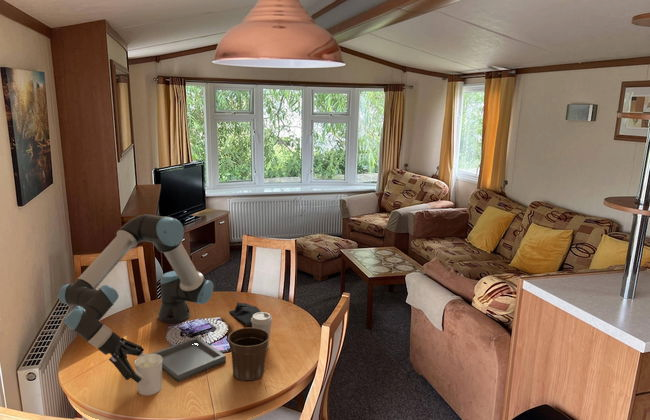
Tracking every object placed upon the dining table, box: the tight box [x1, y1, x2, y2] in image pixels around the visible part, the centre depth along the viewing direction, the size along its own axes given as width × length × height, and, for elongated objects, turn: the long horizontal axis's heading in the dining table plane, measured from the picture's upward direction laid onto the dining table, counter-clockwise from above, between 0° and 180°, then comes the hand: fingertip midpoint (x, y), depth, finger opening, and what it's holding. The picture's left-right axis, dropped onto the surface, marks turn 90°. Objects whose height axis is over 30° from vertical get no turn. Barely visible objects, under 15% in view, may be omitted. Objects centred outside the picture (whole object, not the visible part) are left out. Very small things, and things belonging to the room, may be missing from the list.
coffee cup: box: [251, 311, 274, 350], centre depth 213 cm, size 10×10×15 cm
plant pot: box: [227, 327, 270, 381], centre depth 192 cm, size 16×16×16 cm
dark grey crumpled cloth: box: [229, 302, 262, 326], centre depth 243 cm, size 15×22×5 cm
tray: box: [150, 336, 227, 383], centre depth 200 cm, size 22×22×3 cm
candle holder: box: [133, 353, 163, 396], centre depth 179 cm, size 10×10×12 cm
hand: (150, 374), depth 179 cm, fingers open, 13 cm apart
